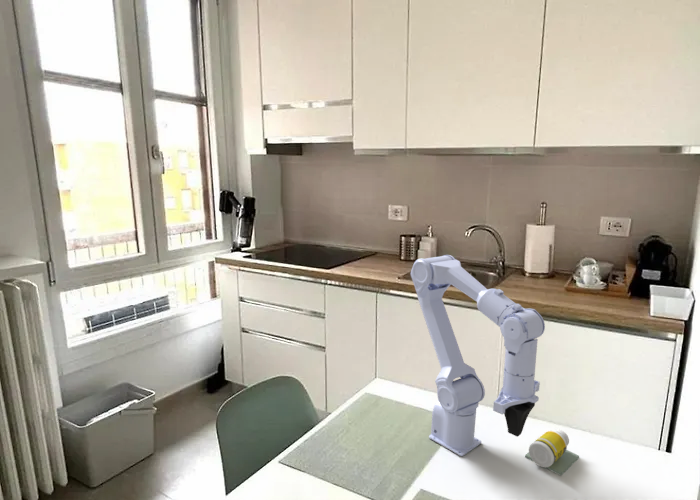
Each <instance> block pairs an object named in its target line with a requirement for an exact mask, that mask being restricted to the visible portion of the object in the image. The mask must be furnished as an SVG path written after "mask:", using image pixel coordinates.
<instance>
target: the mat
mask: <svg viewBox="0 0 700 500" xmlns="http://www.w3.org/2000/svg"><path fill="white" fill-rule="evenodd" d="M524 458H527V459H528V460H530V461H532V462H534V461H533V460H532V459H531V457H530V455H529V451H528V452H526V454H525V455H524ZM579 458H580V455H578V454H576V453H575V452H572V451H570V450H568V449H566V452H565V453H564V454H563V455H562V456H561V457H560V458H559V459H557V460H556V461H555V462H554V463H553V464H552V465H551V466H549V467H544V468H545V469H547V470H550V471H552V472H553V473H555V474H557V475H559V476H562V475H563V474H564V473H565V472H566V471H567V470H568V469H569V468H570V467H571V466H573V464H574V463H575V462H577V461H578V460H579Z"/></svg>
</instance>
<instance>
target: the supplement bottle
mask: <svg viewBox="0 0 700 500" xmlns="http://www.w3.org/2000/svg"><path fill="white" fill-rule="evenodd" d="M569 444H570V438H569V436H568V435H567V432H565V431H564V430H562V429H560V428H559V429H558V428H557V429H554V430H546V431H545V432H544V433H543V434H542V435H541V436H539V437H538V438H537V439H535V440H534V441H533V442H531V443H530V444H529V447H528V452H529V455H530V457H531V459H532V460H533V461H532V460H531V461H532V462H534V463H535V465H537V466H539V467H541V468H545V467H549V466H551V465H552V464H553V463H554V462H555V461H556V460H557V459H559V458H560V457H561V456H562V455H563V454H564V453H565V452H566V450H568V446H569Z"/></svg>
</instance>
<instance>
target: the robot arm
mask: <svg viewBox="0 0 700 500" xmlns="http://www.w3.org/2000/svg"><path fill="white" fill-rule="evenodd" d="M410 278H411V280H412V283H413V286H414V289H415V293H416V297H417V299H418V303H419V305H420V309H421V311H422V312H421V313H422V315H423V318H424V322H425V325H426V328H427V329H428V334H429V336H430V339H431V342H432V346H433V349H434V351H435V354H436V357H437V360H438V363H439V366H440V371H439V373H438V374H437V376H436V378H435V380H434V381H435V385H436V389H437V394H436V396H437V401H436V403H435V404H434V406H433V409H432V414H431V415H432V417H431V428H430V431H431V432H430V434H429V435H428V438H429V439H430V440H432V441H433V442H434V443H435V442H436V443H437V444H439V445H441V446H442V447H444V448H445V449H447V450H450V451H451V452H453V453H455V455H458V456H459V457H464V456H465V455H467V454H468V453H469V452H471V451H472V450H474V449H475V448H477V447H478V446H479V445H481V444H482V440H481V439H479V438H477V437H475V433H476V432H475V430H476V417H477V416H476V415H477V408H479V404H480V402H482V401H483V400H484V398H485V395H486V390H485V386H484V384H483V382H482V381H481V379H480V378H479V375H478V374H477V372H476V370H475V368H473V367H472V366H470V364H469V365H468V363H465V362H464V361H465V360H464V359H463V356H462V353H461V350H460V346H459V344H458V340H457V338H456V336H455V335H456V334H455V332H454V330H453V327H452V324H451V320H450V318H449V315H448V312H447V309H446V306H445V304H444V301H443V296H444V294H445V292H447V290H448V289H449V287H451V286H453V287H454V288H456V289H458V291H461V292H462V293H463V294H465V295H466V296H468V297H469V298H470V299H472V300H473V301H475V302H476V307H477V310H478V311H479V312H480V313H481V314H483V315H484V316H485V317H486V318H488V319H489V320H490V321H491V322H493V324H495V325H496V326H498V327H499V329H500V333H501V336H502V337H503V340H504V343H503V344H504V345H503V347H505V348H504V349H505V353H504V368H503V379H502V380H503V381H502V388H501V389H500V392H499V394H498V396H497V398H496V399H495V400H494V401H493V405H492V411H494V413H495V412H496V413H498V414H501V415H504V417H505V421H506V427H507V431H508V432H507V433H509V434H510V435H513V436H515V437H519V436H520V435H521V434H522V433H523V430H524V427H525V424H526V421H527V419H528V416H529V414H530V413H531V411H532V410H533V409H534V407H535V405H536V403H537V402H539V396H538V395H536V392H539V391H540V385H541V382H540V381H538V380H536V379H535V378H536V377H535V374H536V365H537V363H536V362H537V350H538V349H537V348H538V340H539V339H538V338H540V337H542V335H544V332H545V330H546V329H545V328H546V325H545V320H544V318H543V316H542V315H541V314H540V313H539V312H538V311H537V310H536V309H535V308H530V307H529V308H526V307H525V308H524V307H523V306H522V304H520V303H516V302H515V301H513V300H512V299H511V298H509V297H508V296H506V295H505V294H504V293H505V291H503V290H502V289H500V288H498V289H497V288H486V286H485V285H483V284H482V283H481V282H479V280H478V279H476V278H475V277H474V276H473V275H471V274H470V273H469V272H468V271H467V270H465V268H464V267H462V264H461V261H460V260H458V259H457V258H455V257H454V256H453V255H450V254H444V255H441V256H434V257H427V258H421V257H420V258H418V259H416V260H415V261H414V263H413V265H412V267H411V270H410Z"/></svg>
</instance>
